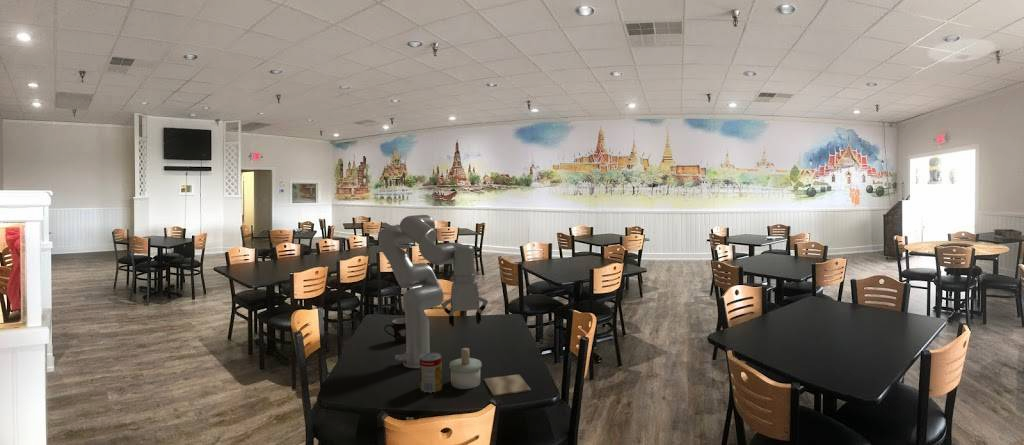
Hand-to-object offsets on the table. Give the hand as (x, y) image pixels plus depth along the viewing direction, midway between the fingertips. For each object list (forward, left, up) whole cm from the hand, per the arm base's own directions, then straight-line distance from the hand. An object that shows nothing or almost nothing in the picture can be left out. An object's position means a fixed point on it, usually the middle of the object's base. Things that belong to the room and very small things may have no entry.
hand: (465, 324), depth 176 cm
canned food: (-13, -1, -23) cm, 26 cm away
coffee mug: (-21, +55, -23) cm, 63 cm away
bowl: (0, 0, -22) cm, 22 cm away
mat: (+14, -7, -22) cm, 27 cm away
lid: (0, 0, -16) cm, 16 cm away
